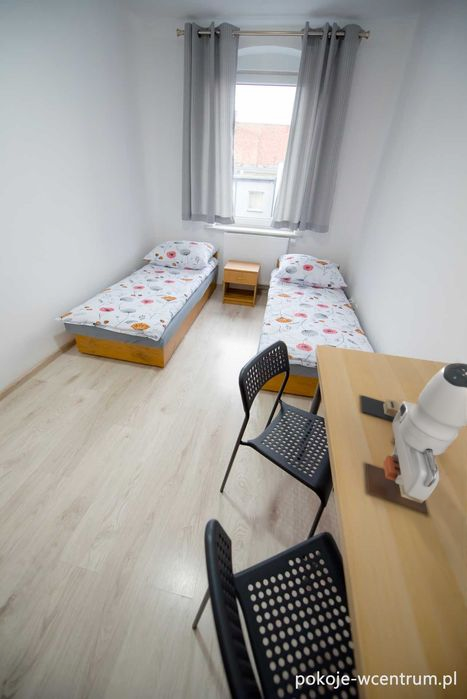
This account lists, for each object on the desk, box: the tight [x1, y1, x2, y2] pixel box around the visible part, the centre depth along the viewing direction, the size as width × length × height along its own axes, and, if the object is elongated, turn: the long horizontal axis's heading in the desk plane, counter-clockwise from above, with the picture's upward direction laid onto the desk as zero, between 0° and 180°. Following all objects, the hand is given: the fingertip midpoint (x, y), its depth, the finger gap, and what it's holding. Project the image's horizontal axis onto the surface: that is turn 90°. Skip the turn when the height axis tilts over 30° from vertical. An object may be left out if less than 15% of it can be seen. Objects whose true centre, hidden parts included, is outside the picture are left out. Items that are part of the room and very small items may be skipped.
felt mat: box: [360, 395, 395, 423], centre depth 90 cm, size 17×8×1 cm, turn 72°
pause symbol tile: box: [383, 454, 401, 481], centre depth 65 cm, size 4×4×3 cm
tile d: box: [383, 398, 402, 417], centre depth 89 cm, size 4×4×3 cm
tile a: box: [399, 484, 424, 503], centre depth 67 cm, size 4×4×3 cm
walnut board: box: [365, 463, 429, 514], centre depth 68 cm, size 13×8×1 cm, turn 72°
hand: (396, 470), depth 65 cm, fingers closed on pause symbol tile, 4 cm apart
